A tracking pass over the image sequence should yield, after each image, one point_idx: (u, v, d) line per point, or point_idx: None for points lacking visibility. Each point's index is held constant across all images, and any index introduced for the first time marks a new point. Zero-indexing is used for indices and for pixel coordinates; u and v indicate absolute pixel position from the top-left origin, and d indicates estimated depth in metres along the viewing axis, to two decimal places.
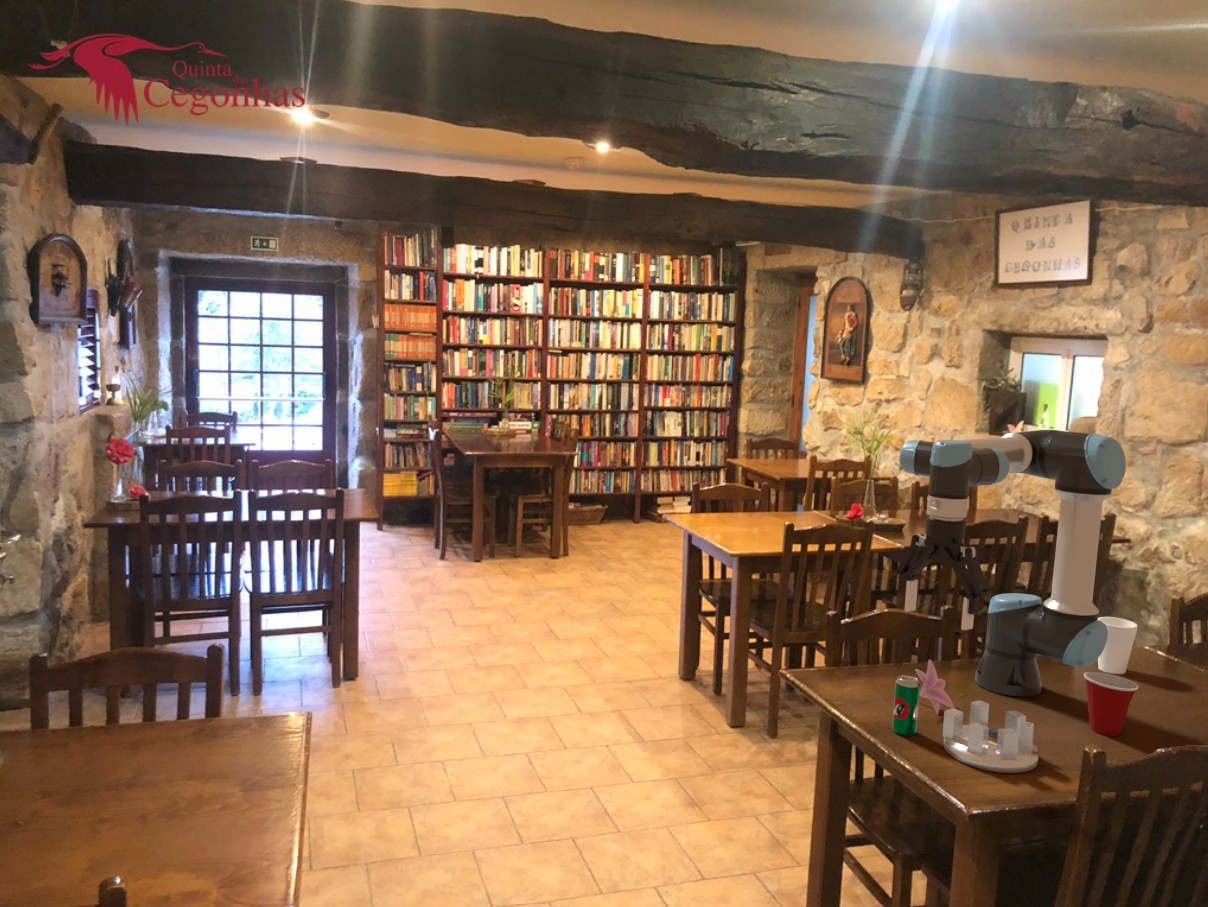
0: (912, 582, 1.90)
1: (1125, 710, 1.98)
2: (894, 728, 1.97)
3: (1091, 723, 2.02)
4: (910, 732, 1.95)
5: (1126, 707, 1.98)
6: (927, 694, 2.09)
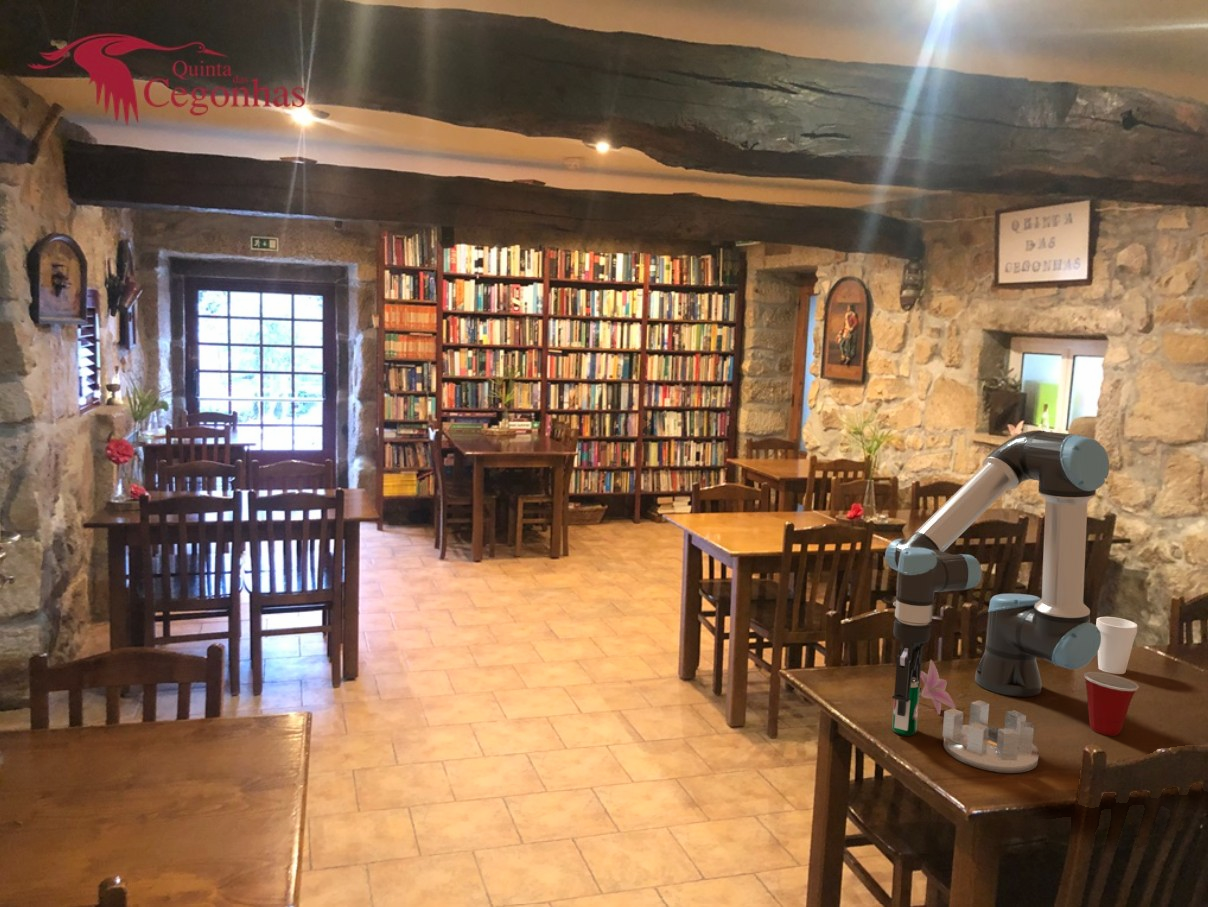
0: None
1: (1125, 710, 1.98)
2: (894, 728, 1.97)
3: (1091, 723, 2.02)
4: (910, 732, 1.95)
5: (1126, 707, 1.98)
6: (929, 694, 2.08)
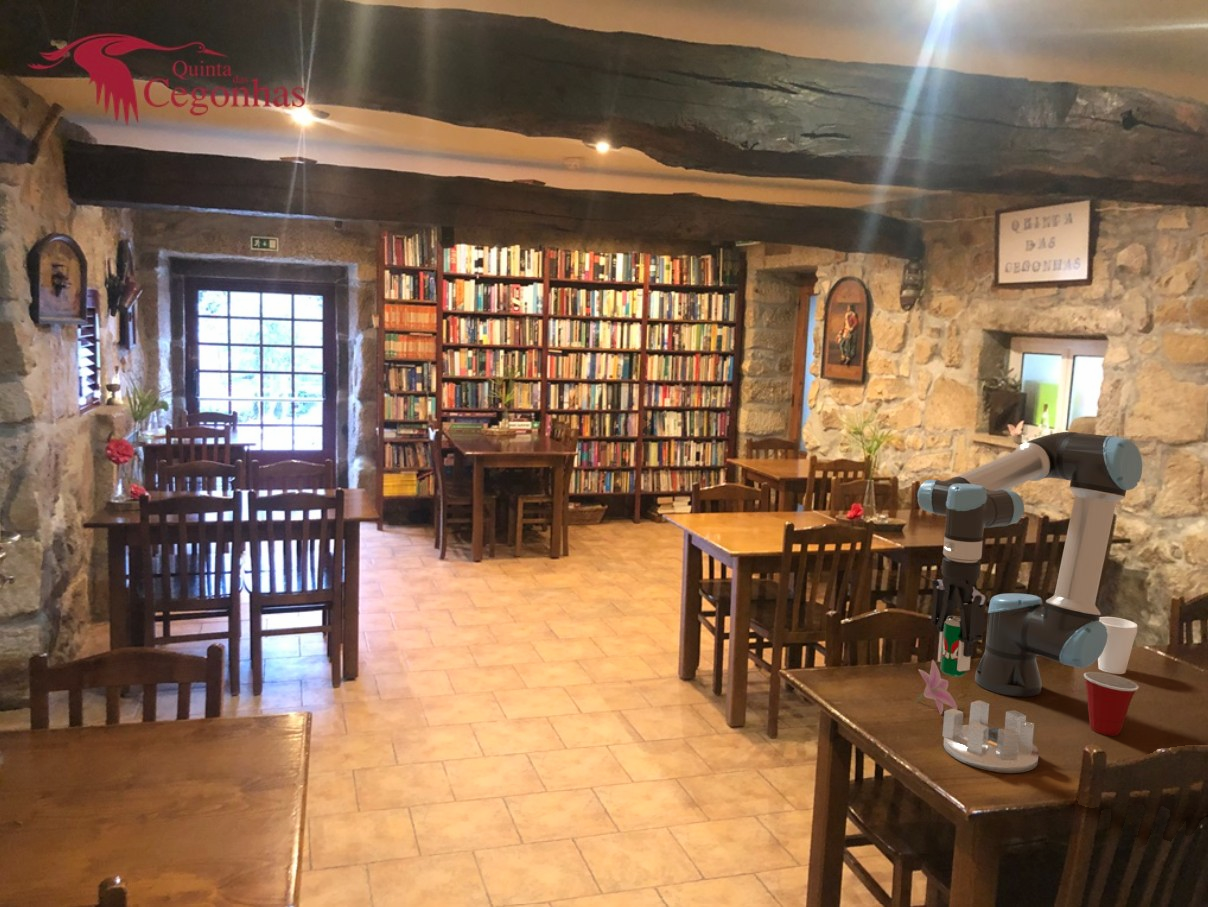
0: None
1: (1125, 710, 1.98)
2: (954, 672, 1.91)
3: (1091, 723, 2.02)
4: (965, 670, 1.92)
5: (1126, 707, 1.98)
6: (931, 695, 2.08)
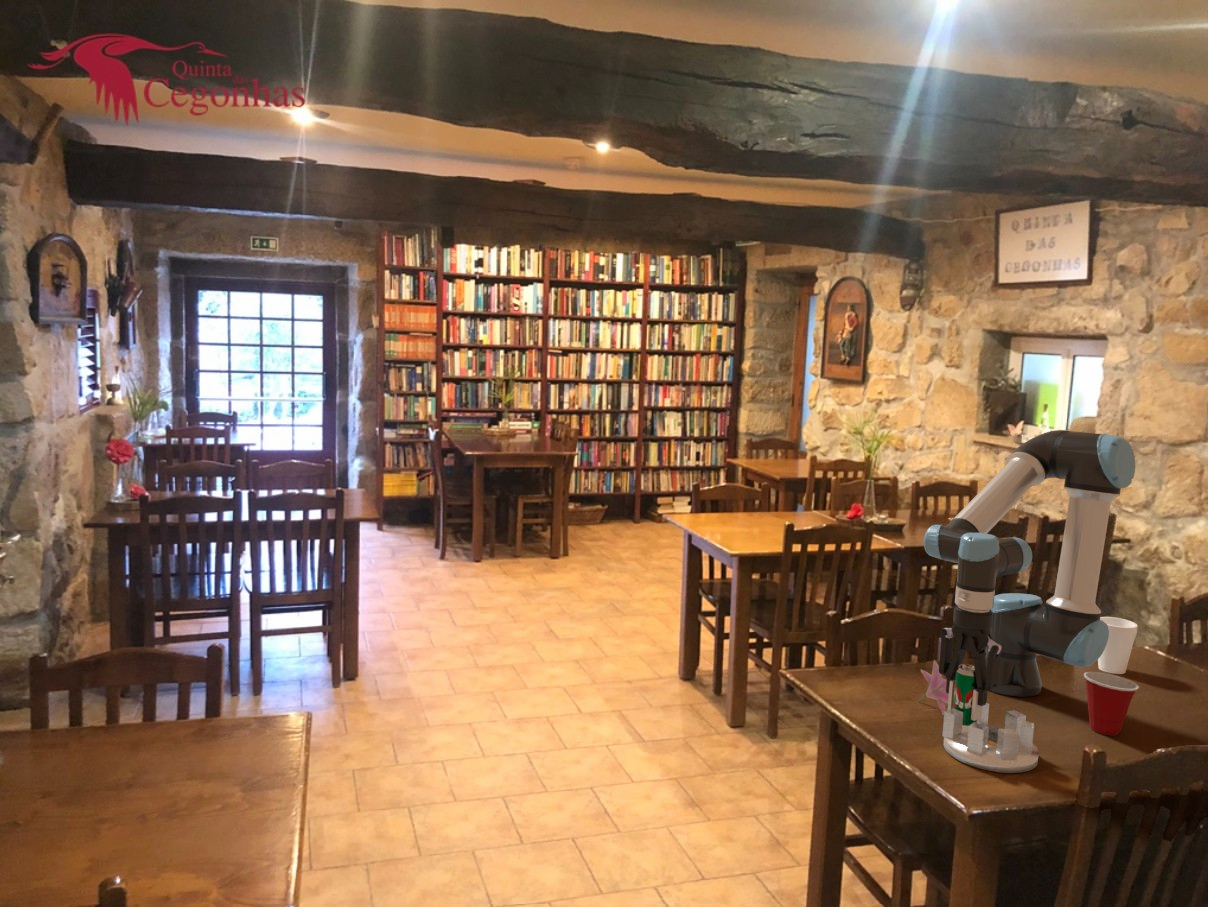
0: None
1: (1125, 710, 1.98)
2: (968, 722, 1.91)
3: (1091, 723, 2.02)
4: None
5: (1126, 707, 1.98)
6: (933, 695, 2.08)
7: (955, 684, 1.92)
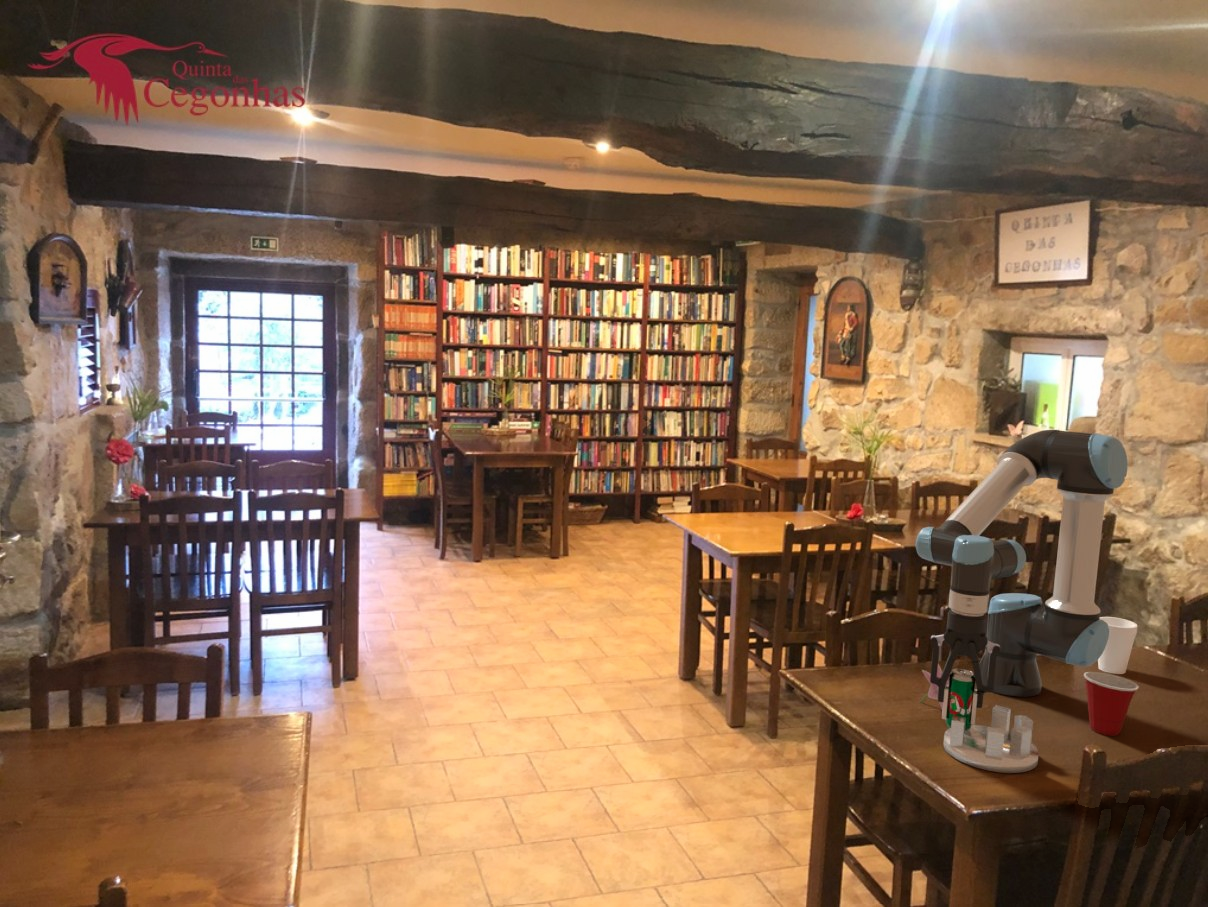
0: (948, 689, 1.90)
1: (1125, 710, 1.98)
2: (968, 726, 1.88)
3: (1091, 723, 2.02)
4: None
5: (1126, 707, 1.98)
6: (935, 695, 2.08)
7: (954, 692, 1.88)
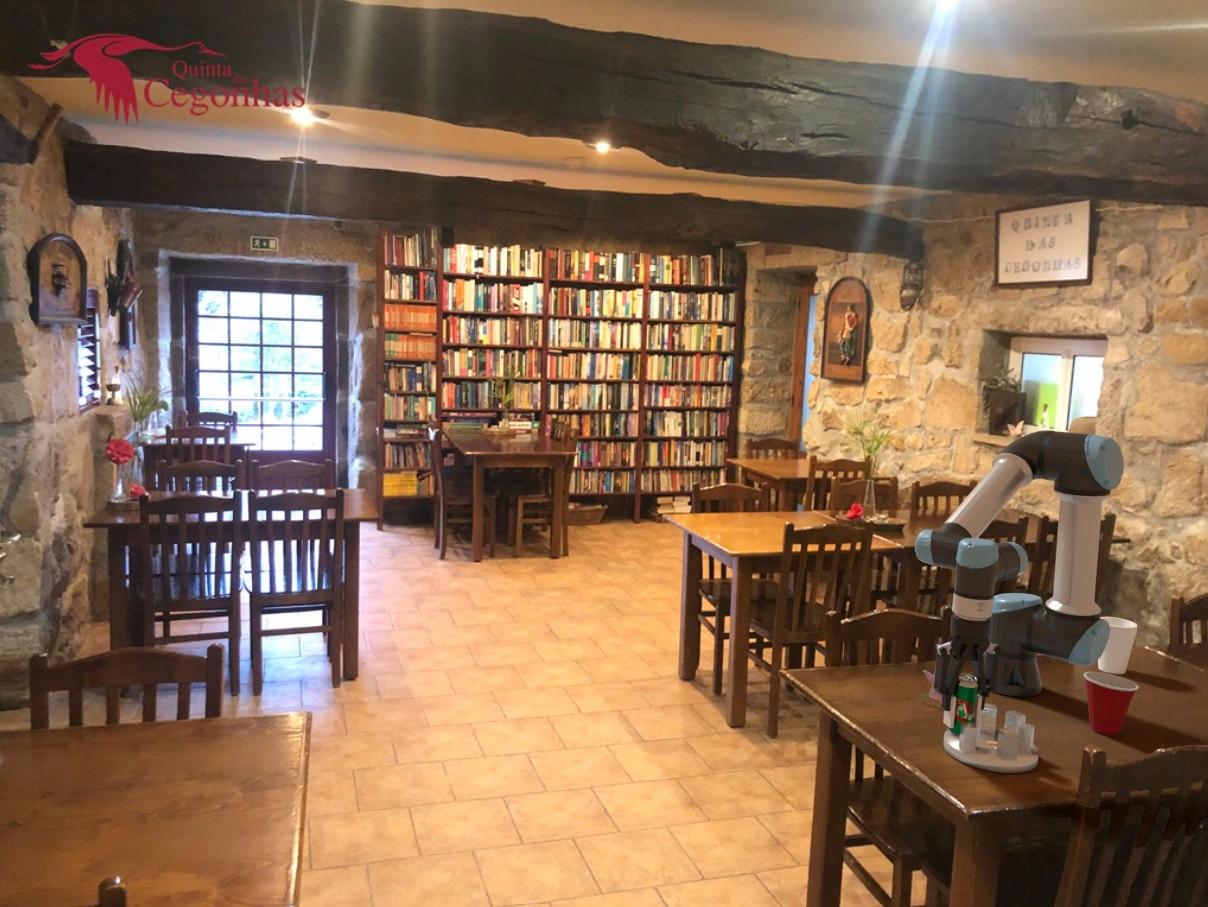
0: None
1: (1125, 710, 1.98)
2: None
3: (1091, 723, 2.02)
4: None
5: (1126, 707, 1.98)
6: (936, 695, 2.08)
7: (962, 699, 1.84)
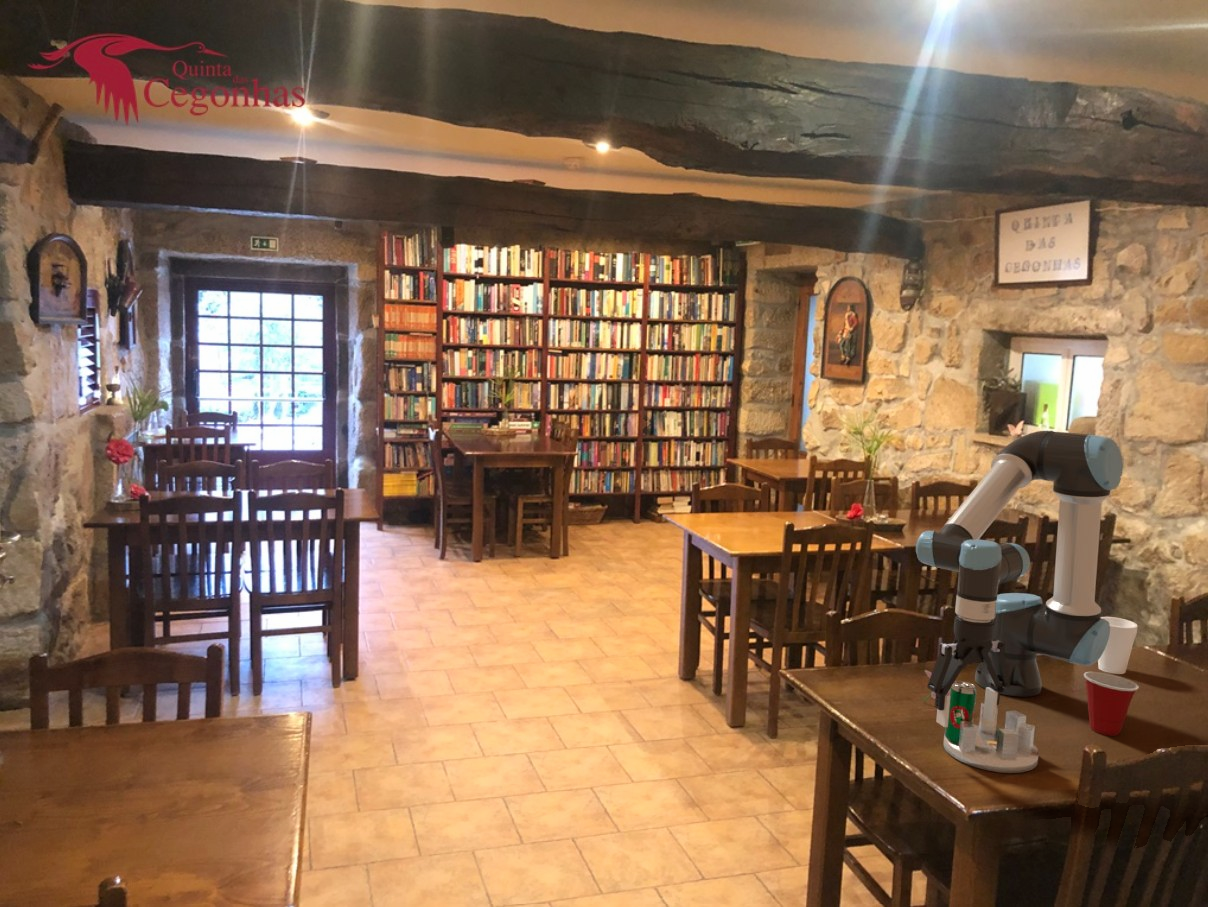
0: None
1: (1125, 710, 1.98)
2: None
3: (1091, 723, 2.02)
4: None
5: (1126, 707, 1.98)
6: None
7: (960, 706, 1.86)
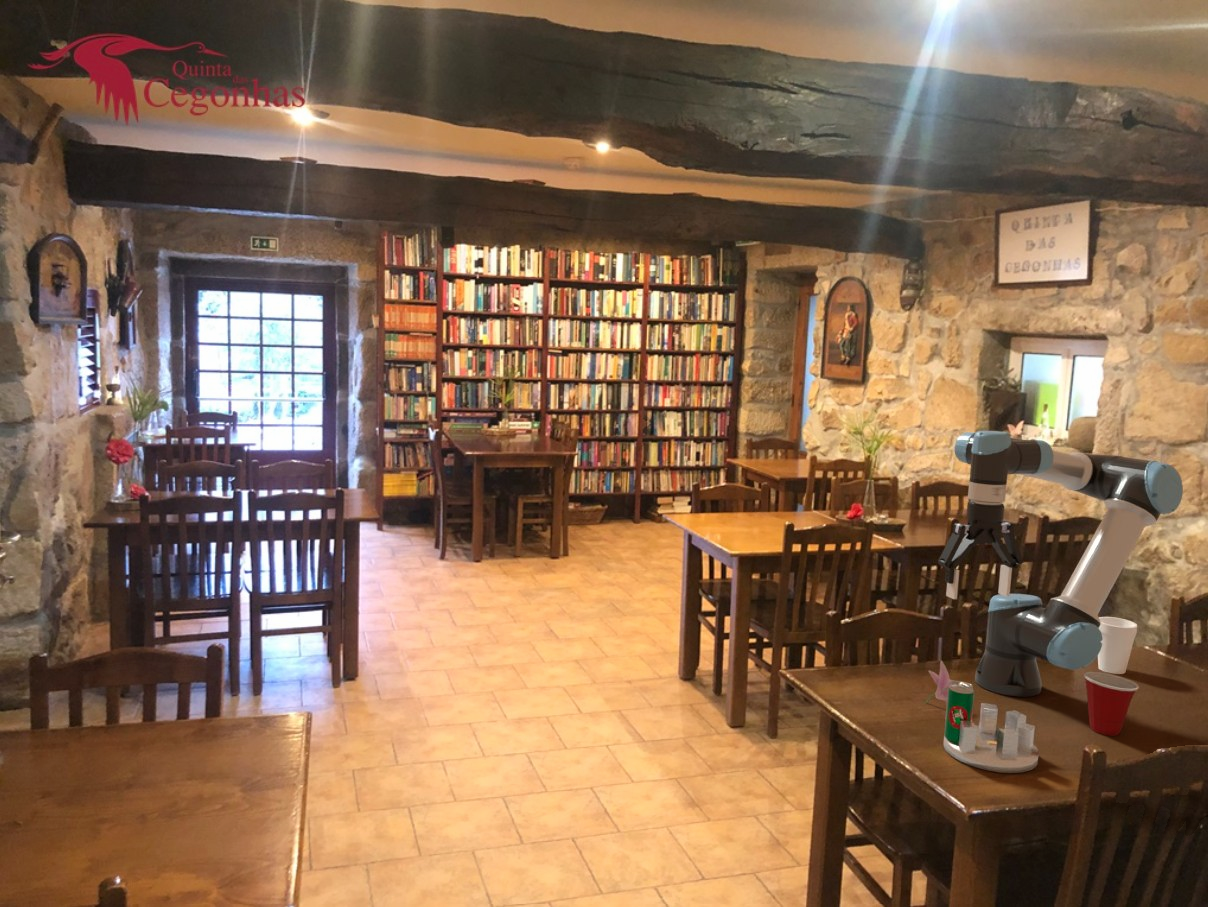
0: None
1: (1125, 710, 1.98)
2: None
3: (1091, 723, 2.02)
4: None
5: (1126, 707, 1.98)
6: (942, 696, 2.08)
7: (958, 706, 1.86)
